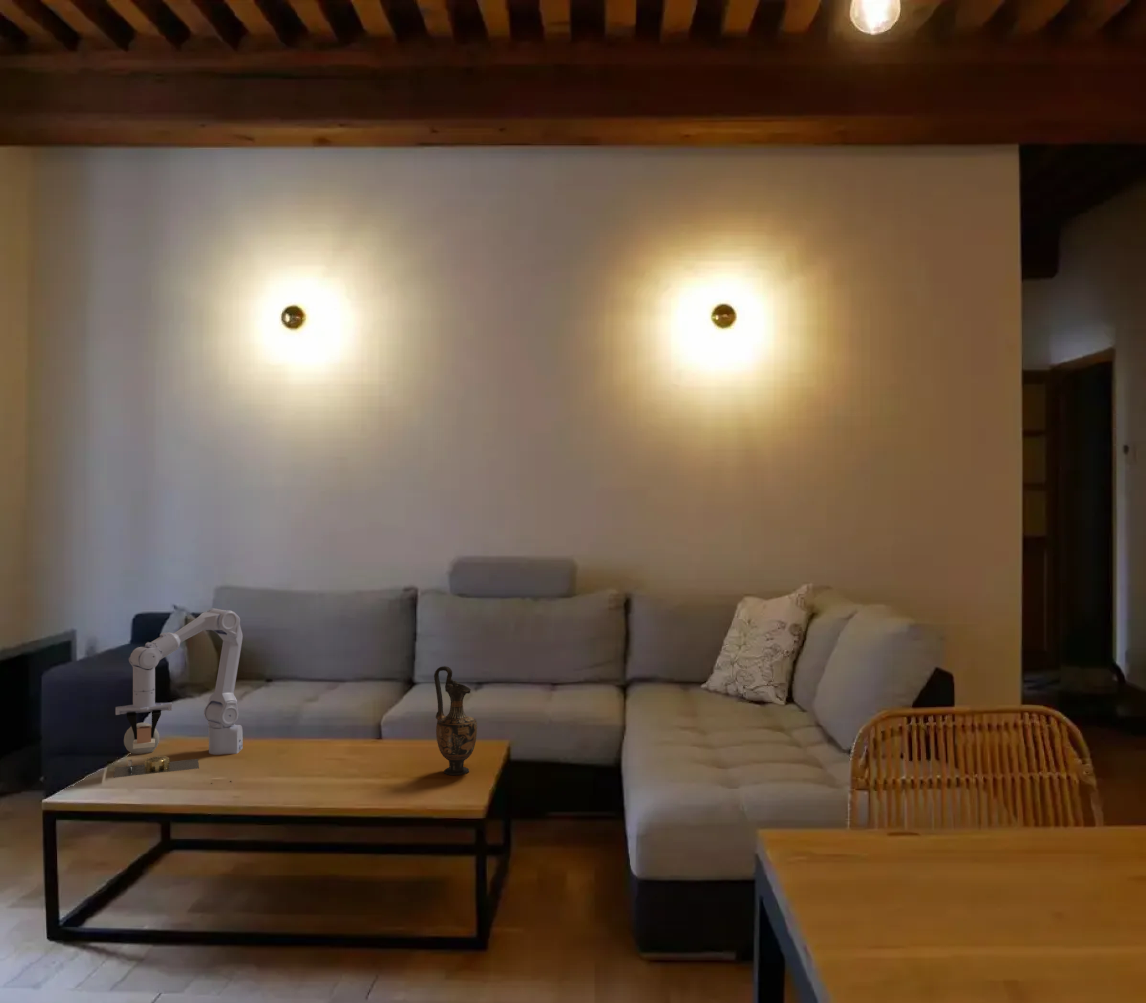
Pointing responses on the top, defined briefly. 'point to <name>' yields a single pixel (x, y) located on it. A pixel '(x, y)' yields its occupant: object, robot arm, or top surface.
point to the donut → (130, 738)
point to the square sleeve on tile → (143, 738)
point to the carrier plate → (155, 766)
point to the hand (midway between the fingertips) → (144, 737)
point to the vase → (454, 725)
